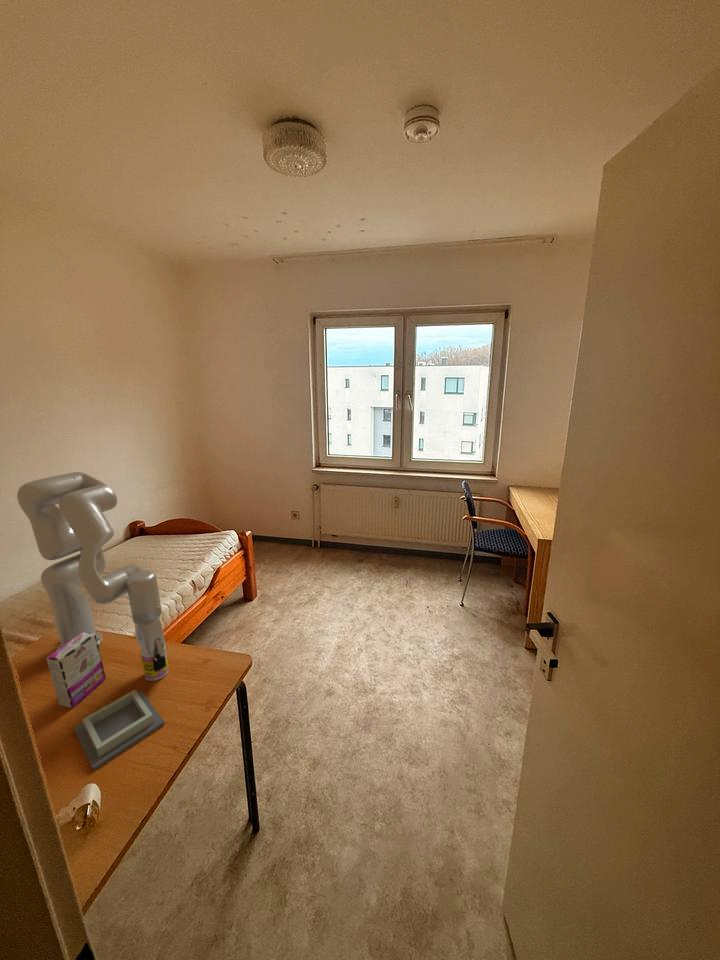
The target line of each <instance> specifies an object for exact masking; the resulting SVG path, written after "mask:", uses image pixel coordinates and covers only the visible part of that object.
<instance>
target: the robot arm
mask: <svg viewBox="0 0 720 960" xmlns="http://www.w3.org/2000/svg"><path fill="white" fill-rule="evenodd" d="M16 499H17V503H18V505H19V507H20V508H21V510H22V512H23V513H24V514H25V516H26V517H27V518H28V520H29V522H30V525H31V528H32V532H33V535H34V539H35V542H36V545H37V548H38V552H39V554H40V555H41V557H42V558H43V559H44V560H46V561H56V560H60V559H62V560H60V561H57V562H55V563H53V564H51V565H48V566H47V567H46V568H45V569H44V570H43V571H42V572H41V575H40V581H41V584H42V586H43V588H44V590H45V592H46V593H47V596H48V599H49V601H50V605H51V608H52V612H53V613H52V614H53V616H54V621H55V624H56V625H55V626H56V629H57V633H58V637H59V642H60V644H59V645H58V646H57V648H56V650H58V649H59V648H61V647H62V646H63V645H65V644H66V643H68V642H69V641H70V640H72V639H73V638H75V637H76V636H77V635H79V634H80V633H81V632H86V633H87V632H88V633H95V634H96V638H97V643H98V646H100V644H101V643H102V641H103V635H102V633H101V632H99V631H97V630H96V628H95V624H94V619H93V615H92V610H91V604H90V599H89V596H90V598H91V599H92V600H93V601H94V602H96V603H98V604H100V605H106V604H107V605H108V604H110V603H112V602H114V601H116V600H118V599H119V598H121V597H123V596H125V595H128V600H129V606H130V612H131V618H132V621H133V623H134V632H135V639H136V642H137V644H138V645H139V646H140V648H141V649H143V650H144V651H145V652H146V653H147V654H151V653H152V655H153V658H154V660H153V665H154V671H155V672H156V671H158V670H160V669H162V668H164V667H165V666H166V661H165V651H164V649H163V648H164V646H166V642H165V634H164V629H163V625H162V622H161V616H162V614H163V612H162V604H161V598H160V597H161V596H160V593H159V592H160V591H159V586H158V580H157V579H158V578H157V575H156V573H155V572H154V571H152V570H146V569H144V568H142V567H141V566H140V565H137V564H134V563H130V564H127V565H124V566H122V567H119V569H116V570H113V571H112V572H109V573H108V574H105V575H103V576H101V575H102V574H103V573H104V572H105V570H106V564H107V563H106V558H105V555H104V550H103V547H104V545H106V544H107V543H108V542H110V540H111V539H112V538H113V537H114V535H115V531H114V529H113V528H112V526H111V524H110V522H109V520H108V519H107V517H106V515H105V514H104V513H103V512H107V511H110V510H112V509H114V508H115V507H116V506H117V504H118V498H117V495H116V493H115V491H114V490H113V489H112V488H111V487H110V486H109V485H108V484H106V483H104V482H103V481H102V480H99V479H97V478H95V477H94V476H92V475H89V474H87V473H85V472H83V471H82V472H81V471H74V472H68V473H64V474H59V475H54V476H53V475H52V476H49V477H48V476H47V477H44V478H43V477H42V478H39V479H36V480H31V481H29V482H26V483H24V484H23V485H20V487H19V488H18V489H17V493H16ZM57 505H58V506H57ZM77 552H79V553H78V554H76V553H77ZM73 554H75V555H73ZM70 555H72V556H70ZM68 556H70V557H68ZM64 557H66V558H64ZM63 558H64V559H63ZM80 585H83V587H84V589H85V590H86V591H87V592H88V593H86V592H85V591H84V590H82V589H80V588H78V587H79V586H80ZM88 594H89V596H88ZM155 647H156V649H155ZM156 651H158V654H157V655H156V654H155V652H156Z"/></svg>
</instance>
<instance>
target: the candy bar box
mask: <svg viewBox="0 0 720 960" xmlns="http://www.w3.org/2000/svg"><path fill="white" fill-rule="evenodd" d="M45 659H46V662H47V667H48V669H49V674H50V676H51V680H52V683H53V687H54V690H55V694H56V698H57V702H58V704H59V705H58V706H60V707H65V708H69V709H74V708H75V707H77V705H78V704H79V703H81V702H82V701H83V700H85V698H86V697H87V696H88V695H89V694H91V693H92V692H93V691H94V690H95V689H97V687H98V686H99V685H100V684H101V683H103V682H105V680H106V679H107V677H106V674H105V673H106V672H105V668H104V665H103V661H102V656H101V651H100V648H99V645H98V643H97V638H96V634H95V633H88V632H87V633H86V632H81V633H80V634H79V635H77V636H76V637H75V638H73V639H72V640H70V641H69V642H68V643H66V644H65V645H63V646H62V647H61V648H59V649H58V650H57V649H56V650H55V651H54V652H52V653H51V654H49V655H48V656H47V657H45Z"/></svg>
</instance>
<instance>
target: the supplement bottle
mask: <svg viewBox="0 0 720 960" xmlns="http://www.w3.org/2000/svg"><path fill="white" fill-rule="evenodd" d="M155 649H156V647H155ZM163 649H164V651H165V661H166V666H165V667H164V668H162V669H160V670H158V671H156V672H155V671H154V665H153V660H154V658H153V655H152V653H151V654H147V653H146V652H145V651H144V650H143V649H142V648H141V649H140V657H141V663H142V669H143V675H144V679H145V680H147V681H149V682H153V681H159V680H160V679H162V678H164V677H165V676H166V674H168V672H169V662H168V661H169V660H168V654H167V647H166V645H165V646H164V648H163ZM155 654H156V655H157V654H158V651H156V652H155Z"/></svg>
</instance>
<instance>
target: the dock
mask: <svg viewBox="0 0 720 960" xmlns="http://www.w3.org/2000/svg"><path fill="white" fill-rule="evenodd" d="M163 726H165V721H164V719H163V718H162V717H161V715H160V714H159V713H158V711H157V710H156V708H155V706H153V704H152V703H151V701H150V700H149V699H148V698H147V696H146V695H145V694H144V692H143V690H142V689H140V690H136V689H134V690H131V691H130V692H128V693H127V694H125V695H122V696H121V697H119V698H117V699H115V700H114V701H112V702H110V703H109V704H108V703H107V704H106V705H105V706H103V707H101V708H99V709H97V710H96V711H94V712H92V713H90V714H89V715H87V716H85V717H83V718H82V722H81V723H79V724H77V725H76V726H74V727H73V729H74V732H75V734H76V736H77V739H78V741H79V744H80V745H81V748H82V750H83V753H84V755H85V756H86V758H87V760H88V763H89V765H90V766H91V769H92V771H93V772H95V771H96V770H97V769H99V768H101V767H103V766H104V765H105V764H107V763H108V762H110V761H111V760H112V759H115V758H116V757H118V756H119V755H121V754H122V753H123V752H125V751H126V750H128V749H130V748H131V747H133V746H134V745H135V744H138V742H140V741H142V740H143V739H145V738H147V737H148V736H150V734H151V735H152V734H153V733H154V732H156V731H157V730H158V729H160V728H161V727H163Z"/></svg>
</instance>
